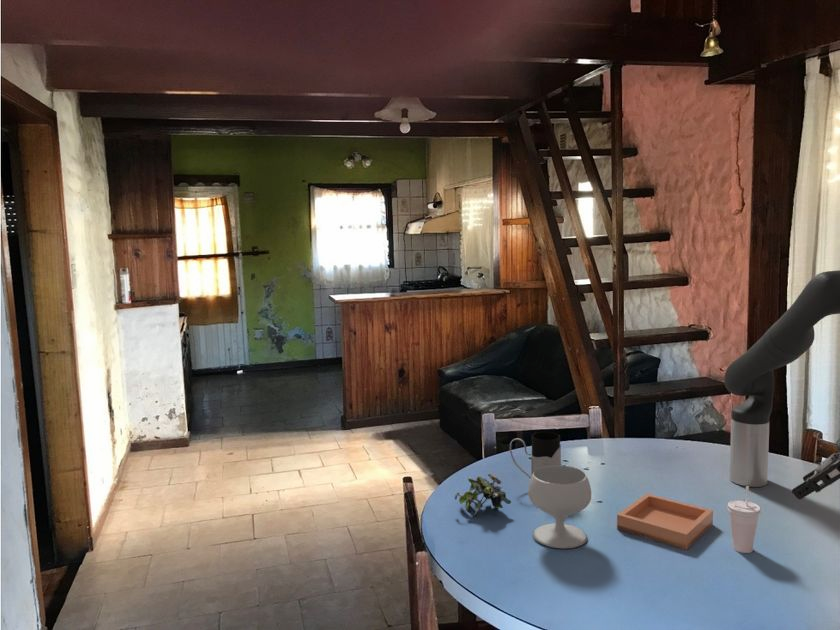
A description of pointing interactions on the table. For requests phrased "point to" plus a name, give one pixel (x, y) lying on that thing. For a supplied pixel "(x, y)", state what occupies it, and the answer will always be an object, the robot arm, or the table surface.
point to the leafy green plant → (484, 493)
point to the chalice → (559, 503)
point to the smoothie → (743, 523)
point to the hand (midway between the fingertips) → (800, 488)
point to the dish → (665, 520)
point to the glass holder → (542, 451)
